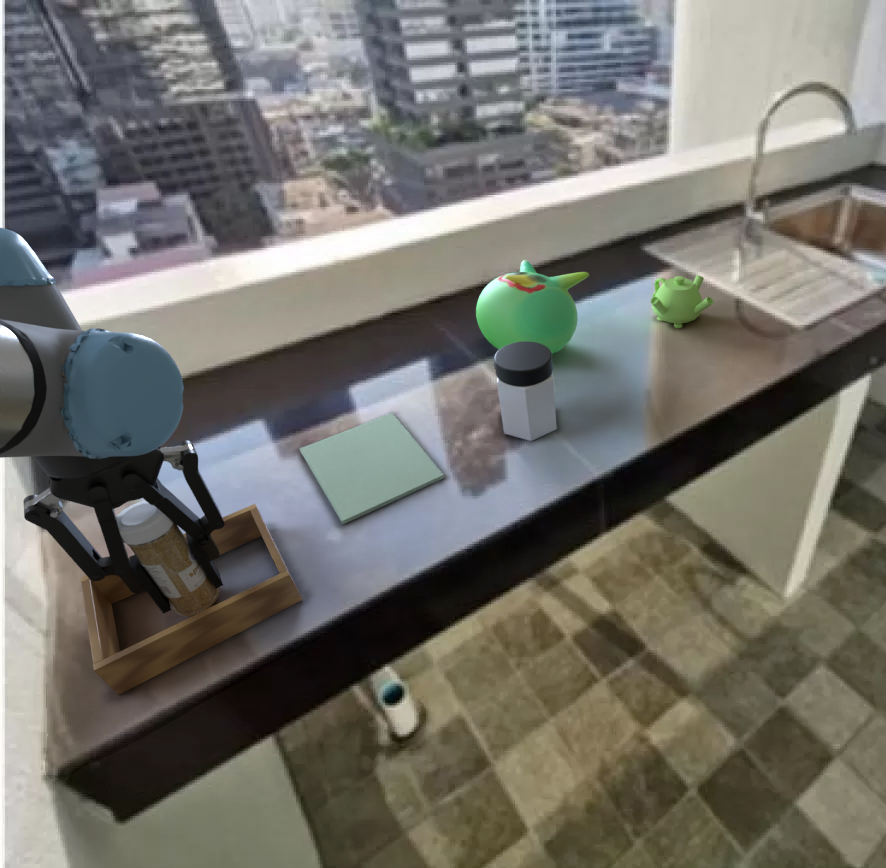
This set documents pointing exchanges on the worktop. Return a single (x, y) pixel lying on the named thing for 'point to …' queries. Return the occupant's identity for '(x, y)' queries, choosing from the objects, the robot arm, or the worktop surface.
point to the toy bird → (529, 308)
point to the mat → (369, 466)
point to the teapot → (679, 300)
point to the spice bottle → (167, 558)
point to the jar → (526, 389)
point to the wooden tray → (195, 631)
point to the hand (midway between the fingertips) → (191, 590)
